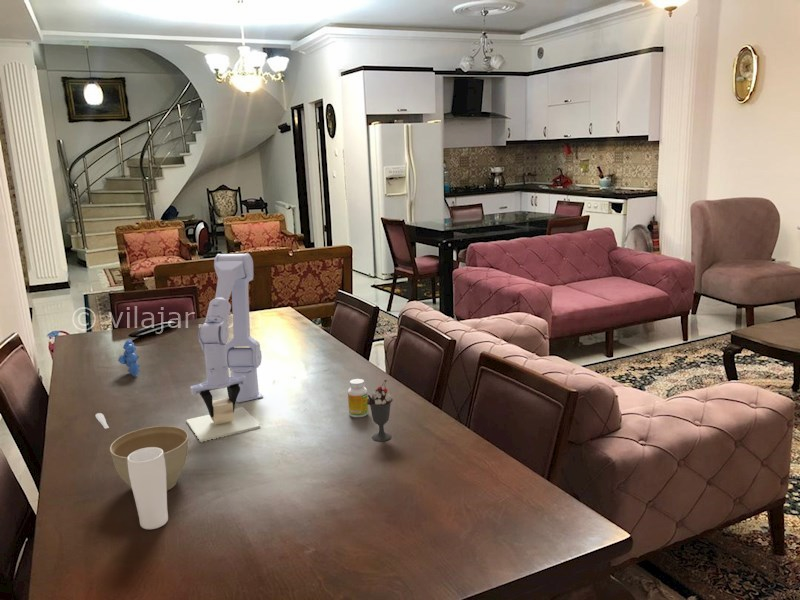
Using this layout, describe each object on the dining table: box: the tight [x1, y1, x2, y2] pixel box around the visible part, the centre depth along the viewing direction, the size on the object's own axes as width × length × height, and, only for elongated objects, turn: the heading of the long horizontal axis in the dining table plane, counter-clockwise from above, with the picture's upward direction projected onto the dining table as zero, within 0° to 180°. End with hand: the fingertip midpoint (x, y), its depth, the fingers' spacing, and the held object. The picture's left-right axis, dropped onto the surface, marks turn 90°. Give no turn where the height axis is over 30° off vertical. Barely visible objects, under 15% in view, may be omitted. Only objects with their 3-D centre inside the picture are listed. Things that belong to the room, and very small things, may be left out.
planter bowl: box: [109, 425, 189, 492], centre depth 142 cm, size 16×16×11 cm
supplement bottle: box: [347, 378, 369, 418], centre depth 178 cm, size 5×5×10 cm
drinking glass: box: [127, 447, 169, 530], centre depth 127 cm, size 7×7×15 cm
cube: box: [211, 397, 234, 424], centre depth 174 cm, size 5×5×5 cm
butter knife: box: [95, 412, 110, 430], centre depth 176 cm, size 1×27×3 cm
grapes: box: [117, 339, 140, 377], centre depth 218 cm, size 12×7×12 cm, turn 33°
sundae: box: [367, 379, 394, 442], centre depth 162 cm, size 7×7×15 cm
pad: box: [185, 406, 261, 443], centre depth 175 cm, size 16×16×1 cm
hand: (221, 413), depth 174 cm, fingers closed on cube, 5 cm apart
